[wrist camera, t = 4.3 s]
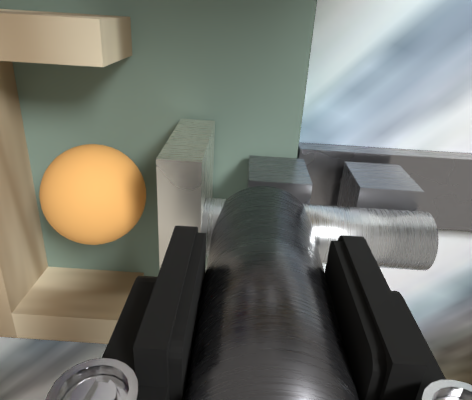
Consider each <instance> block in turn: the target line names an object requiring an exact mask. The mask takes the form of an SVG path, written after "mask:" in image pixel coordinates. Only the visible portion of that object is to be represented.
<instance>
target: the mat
mask: <svg viewBox="0 0 472 400" xmlns="http://www.w3.org/2000/svg"><path fill="white" fill-rule="evenodd" d="M316 4H317V0H0V9H13V10H29V11H45V12H62V13H78V14H94V15H111V16H127V17H130V20H131V39H132V56H130V57H127V58H125V59H122V60H120V61H117V62H115V63H112V64H110V65H107V66H105V67H92V66H75V65H59V64H43V63H27V62H12V63H13V69H14V75H15V80H16V86H17V92H18V98H19V103H20V109H21V115H22V120H23V126H24V132H25V137H26V143H27V149H28V154H29V160H30V166H31V172H32V177H33V183H34V189H35V194H36V200H37V206H38V211H39V217H40V223H41V228H42V234H43V240H44V246H45V251H46V257H47V263H48V267H63V268H78V269H93V270H108V271H123V272H139V273H144V276H153V277H157V276H158V274H159V271H160V266H159V235H158V205H157V174H156V158H157V156H158V155H159V153H160V152H161V150H162V149H163V147H164V145H165V144H166V142H167V141H168V139H169V137H170V136H171V134H172V133H173V131H174V129H175V128H176V126H177V125H178V123H179V121H180V120H181V119H194V120H210V121H215V135H214V166H213V196H212V198H220V199H228V198H229V197H230V196H232V195H233V194H235V193H237V192H238V191H240V190H243V189H246V188H247V179H248V166H249V155H253V156H269V157H285V158H297V154H298V146H299V138H300V130H301V122H302V114H303V106H304V98H305V90H306V82H307V75H308V67H309V59H310V51H311V43H312V35H313V27H314V19H315V11H316ZM86 144H98V145H105V146H109V147H112V148H114V149H117V150H119V151H120V152H122V153H124V154H125V155H126V156H128V157H129V158H130V159H131V160H132V161H133V162H134V163H135V165H136V166H137V167H138V169H139V170H140V172H141V174H142V176H143V179H144V182H145V186H146V203H145V207H144V211H143V213H142V215H141V217H140V219H139V221H138V222H137V224H136V225H135V226H134V227H133V228H132V229H131V230H130V231H129V232H128V233H127V234H125V235H124V236H122V237H121V238H119V239H117V240H115V241H112V242H109V243H105V244H99V245H87V244H81V243H77V242H74V241H71V240H69V239H67V238H65V237H64V236H62V235H60V234H59V233H58V232H57V231H56V230H55V229H54V228H53V227H52V226H51V225H50V224H49V222H48V221H47V219H46V217H45V216H44V214H43V211H42V208H41V204H40V198H39V191H40V184H41V180H42V177H43V175H44V173H45V171H46V169H47V168H48V166H49V165H50V164H51V163H52V161H53V160H54V159H55V158H56V157H57V156H59V155H60V154H62V153H63V152H65V151H67V150H69V149H71V148H73V147H76V146H80V145H86Z"/></svg>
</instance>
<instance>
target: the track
mask: <svg viewBox="0 0 472 400" xmlns="http://www.w3.org/2000/svg"><path fill="white" fill-rule="evenodd" d="M297 158H301V159H304V161H305V164H306V167H307V170H308V173H309V176H310V179H311V181H312V184H313V185H312V192H311V199H310V204H313V205H329V206H337V201H338V195H339V190H340V184H341V179H342V173H343V168H344V162H345V161H348V162H363V163H379V164H395V165H400V166H401V167H402V168H403V169H404V170H405V171H406V173H407V174H408V175H409V176H410V177H411V178H412V179H413V180H414V181H415V182H416V183H417V184H418V185H419V186H420V188H421V189H422V190H423V191H424V196H423V199H422V203H421V206H420V210H419V211H422V212H428V213H430V214H431V215H432V217H433V218H434V220H435V223H436V226H437V229H449V230H465V231H472V154H471V153H455V152H439V151H424V150H408V149H392V148H376V147H360V146H345V145H329V144H313V143H299V146H298V154H297Z"/></svg>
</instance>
